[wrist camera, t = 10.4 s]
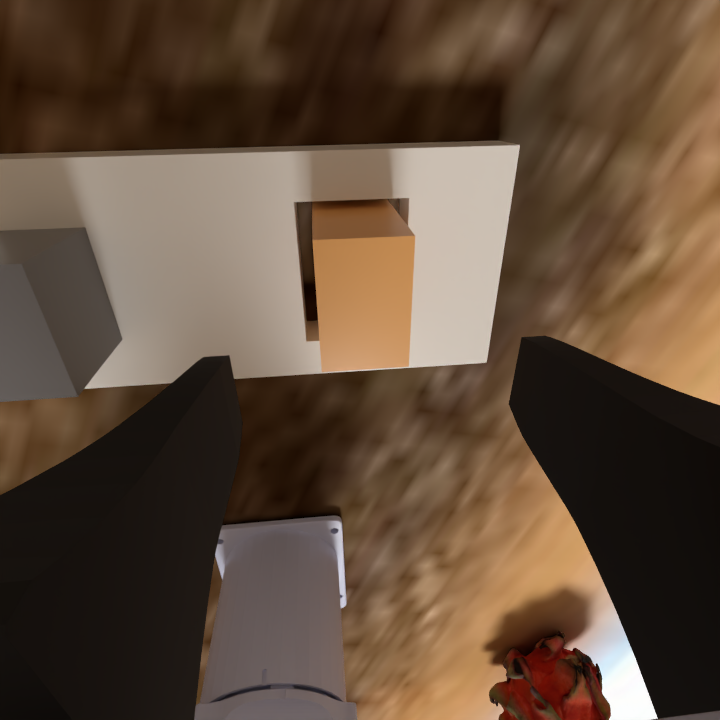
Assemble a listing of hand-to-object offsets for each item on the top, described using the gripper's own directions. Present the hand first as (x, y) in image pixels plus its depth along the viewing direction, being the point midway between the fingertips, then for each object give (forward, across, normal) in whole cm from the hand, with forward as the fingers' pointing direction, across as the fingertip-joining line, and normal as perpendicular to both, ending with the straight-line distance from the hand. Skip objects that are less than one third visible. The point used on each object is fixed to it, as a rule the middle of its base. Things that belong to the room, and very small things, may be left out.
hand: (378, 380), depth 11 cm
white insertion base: (+10, +5, 0) cm, 11 cm away
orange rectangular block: (+10, 0, 0) cm, 10 cm away
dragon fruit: (+10, -15, +36) cm, 40 cm away
